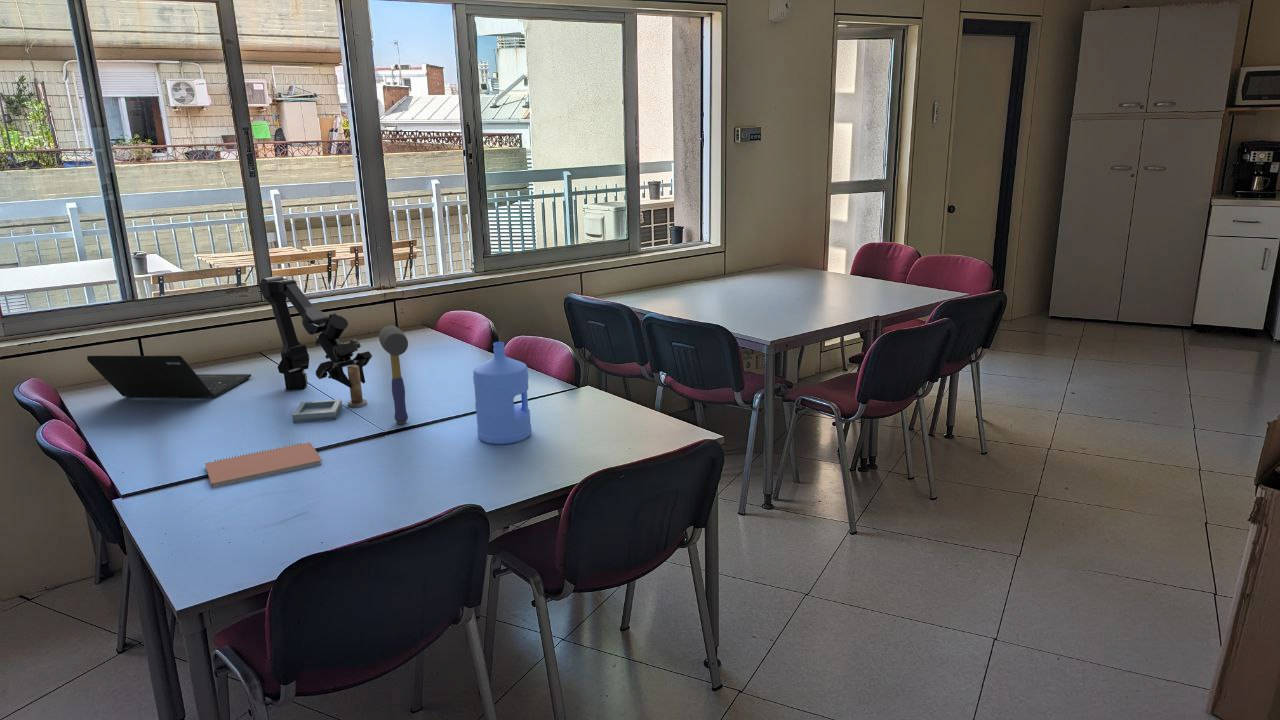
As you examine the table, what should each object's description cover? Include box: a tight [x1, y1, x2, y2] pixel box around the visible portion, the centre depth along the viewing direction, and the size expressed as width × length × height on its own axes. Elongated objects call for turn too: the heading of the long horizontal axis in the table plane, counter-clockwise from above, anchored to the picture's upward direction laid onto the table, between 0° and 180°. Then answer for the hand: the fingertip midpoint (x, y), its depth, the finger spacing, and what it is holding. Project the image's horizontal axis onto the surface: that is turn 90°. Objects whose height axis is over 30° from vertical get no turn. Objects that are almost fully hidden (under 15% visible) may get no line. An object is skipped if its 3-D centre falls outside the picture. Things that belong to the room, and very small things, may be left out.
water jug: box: [472, 341, 532, 445], centre depth 242 cm, size 16×16×28 cm
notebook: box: [204, 441, 323, 489], centre depth 228 cm, size 27×17×2 cm, turn 122°
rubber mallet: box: [378, 324, 409, 425], centre depth 254 cm, size 12×8×30 cm, turn 25°
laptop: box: [86, 355, 252, 399], centre depth 288 cm, size 33×38×19 cm
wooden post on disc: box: [346, 365, 368, 409], centre depth 274 cm, size 6×6×13 cm
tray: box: [292, 398, 343, 424], centre depth 267 cm, size 13×13×2 cm
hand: (357, 384), depth 273 cm, fingers open, 5 cm apart
